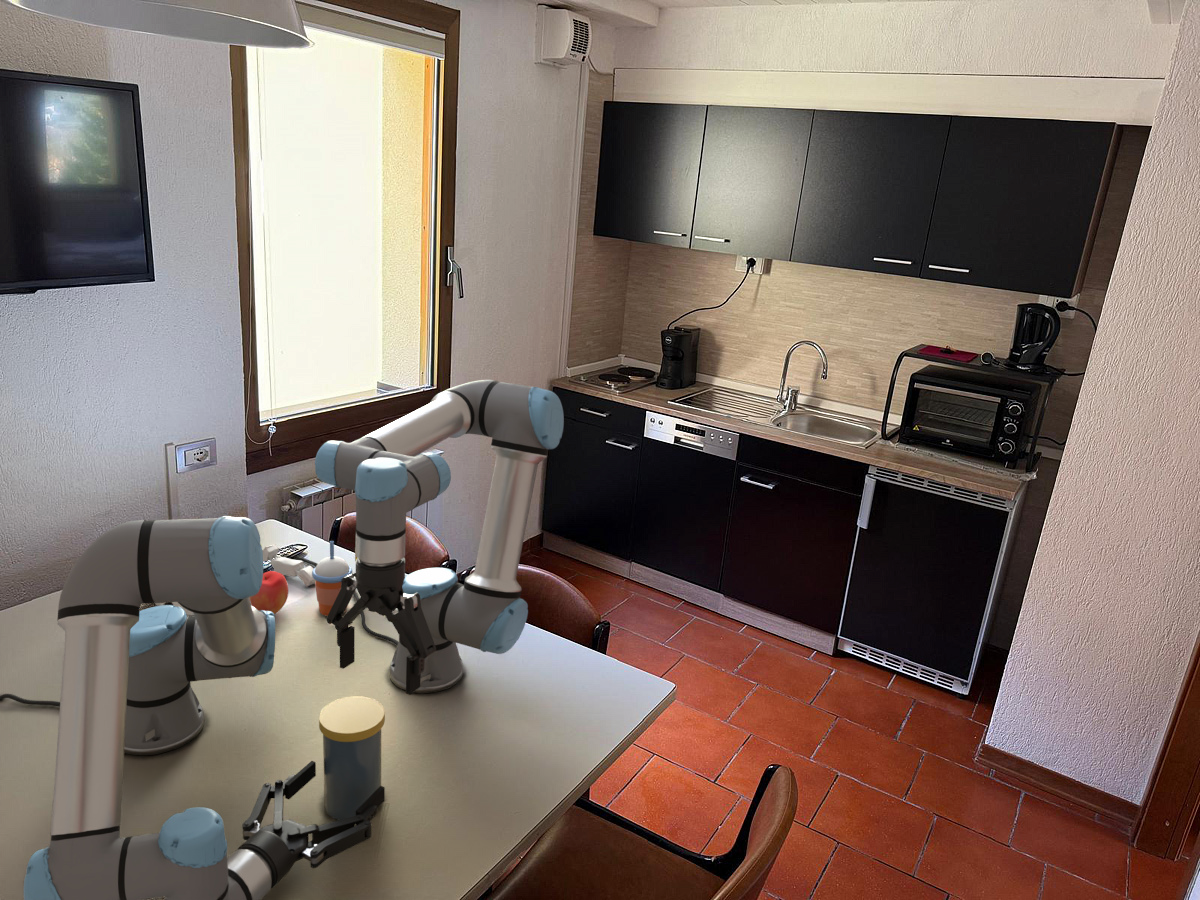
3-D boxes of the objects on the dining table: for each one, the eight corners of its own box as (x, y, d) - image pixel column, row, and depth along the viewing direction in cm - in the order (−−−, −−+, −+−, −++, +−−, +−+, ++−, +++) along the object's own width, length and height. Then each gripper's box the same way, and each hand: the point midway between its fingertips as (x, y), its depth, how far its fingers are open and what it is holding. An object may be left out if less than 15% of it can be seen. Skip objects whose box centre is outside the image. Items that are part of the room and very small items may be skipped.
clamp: (253, 565, 223) (254, 542, 221) (265, 560, 226) (266, 537, 224) (309, 593, 215) (310, 569, 213) (320, 588, 218) (321, 564, 216)
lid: (317, 745, 133) (317, 736, 133) (320, 706, 143) (320, 698, 142) (385, 738, 136) (385, 730, 136) (384, 701, 146) (384, 693, 145)
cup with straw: (341, 622, 200) (340, 552, 194) (305, 616, 201) (303, 546, 196) (359, 605, 208) (358, 537, 203) (325, 599, 210) (323, 531, 204)
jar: (323, 824, 139) (321, 736, 134) (325, 786, 147) (323, 702, 142) (381, 817, 141) (381, 730, 136) (380, 780, 150) (380, 697, 145)
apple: (273, 600, 207) (272, 562, 204) (297, 613, 202) (296, 575, 199) (237, 614, 200) (234, 575, 197) (261, 628, 194) (259, 588, 191)
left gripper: (187, 861, 126) (287, 776, 146) (326, 922, 118) (412, 823, 137) (184, 819, 124) (285, 739, 143) (325, 878, 116) (412, 784, 135)
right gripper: (461, 569, 131) (456, 690, 137) (336, 531, 141) (336, 645, 147) (431, 586, 125) (427, 712, 131) (302, 545, 135) (304, 664, 141)
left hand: (347, 780), depth 140 cm, fingers open, 13 cm apart
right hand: (379, 677), depth 139 cm, fingers open, 13 cm apart
